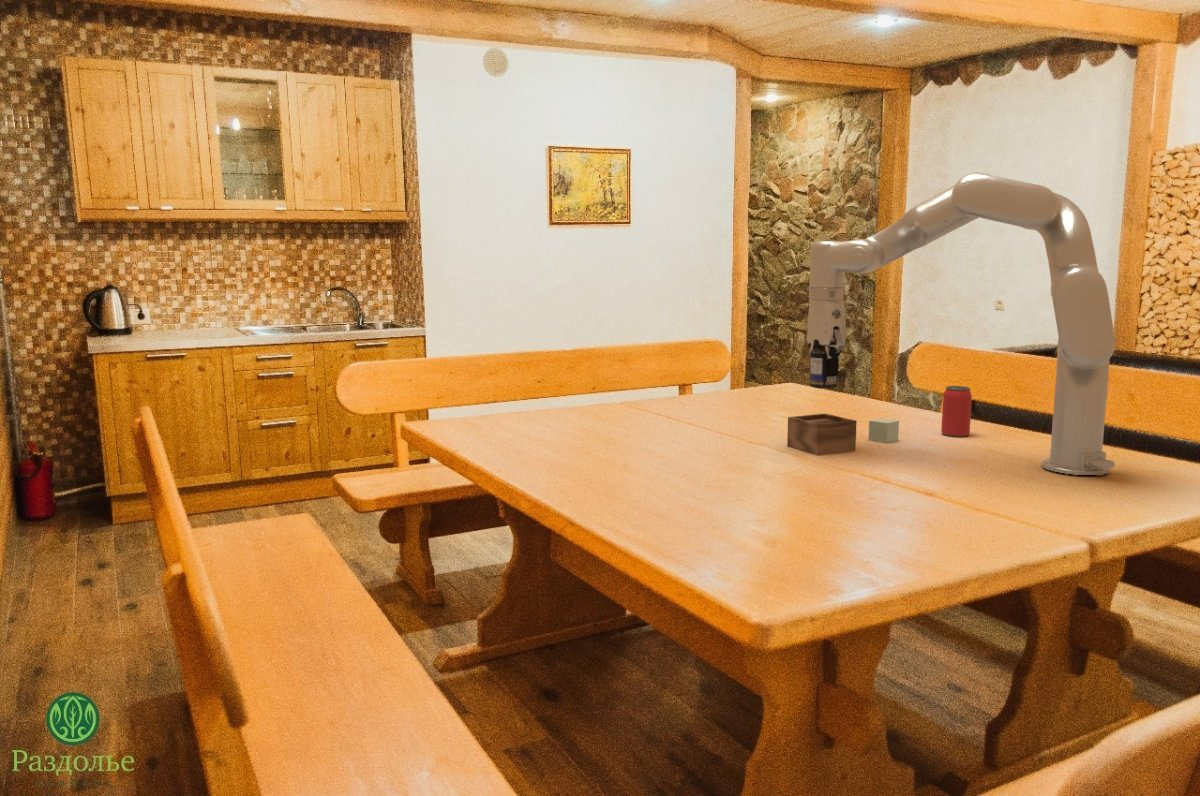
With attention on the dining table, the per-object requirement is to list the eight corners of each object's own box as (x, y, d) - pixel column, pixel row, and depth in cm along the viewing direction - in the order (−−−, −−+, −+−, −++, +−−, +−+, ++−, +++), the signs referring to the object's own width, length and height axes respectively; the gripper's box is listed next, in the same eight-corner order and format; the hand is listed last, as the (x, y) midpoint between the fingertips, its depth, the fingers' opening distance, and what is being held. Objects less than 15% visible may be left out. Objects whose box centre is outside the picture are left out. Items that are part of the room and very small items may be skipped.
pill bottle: (834, 385, 209) (836, 338, 207) (838, 388, 203) (840, 340, 201) (807, 384, 210) (809, 337, 208) (811, 388, 204) (812, 340, 202)
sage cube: (898, 441, 217) (898, 420, 216) (886, 443, 214) (887, 423, 213) (879, 438, 221) (880, 418, 220) (868, 440, 218) (869, 420, 217)
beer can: (973, 437, 220) (976, 389, 219) (946, 437, 221) (949, 389, 219) (963, 432, 227) (966, 385, 225) (937, 432, 227) (939, 385, 225)
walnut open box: (855, 450, 206) (856, 420, 205) (817, 455, 201) (818, 424, 200) (824, 441, 216) (825, 413, 215) (787, 446, 211) (788, 417, 210)
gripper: (861, 296, 196) (858, 378, 199) (822, 294, 212) (819, 369, 215) (830, 297, 194) (827, 379, 197) (793, 294, 210) (791, 370, 213)
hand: (823, 373), depth 206 cm, fingers closed on pill bottle, 6 cm apart
